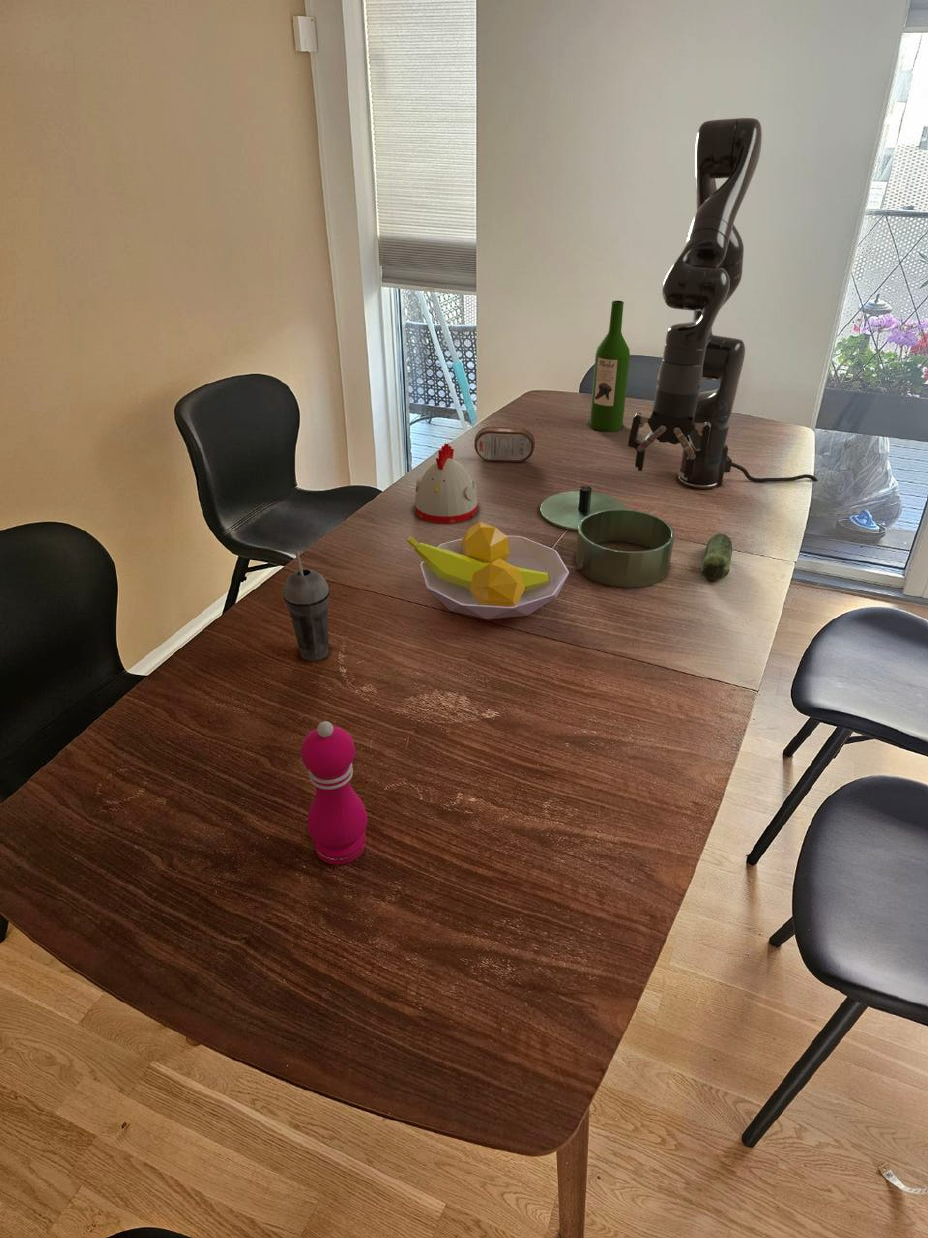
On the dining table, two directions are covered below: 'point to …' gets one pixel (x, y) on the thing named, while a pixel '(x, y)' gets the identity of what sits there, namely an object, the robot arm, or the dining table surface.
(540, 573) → the fruit bowl
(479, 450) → the tin
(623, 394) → the wine bottle
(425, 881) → the dining table surface
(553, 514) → the lid
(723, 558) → the vegetable
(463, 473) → the kitchen timer
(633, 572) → the green open cylinder
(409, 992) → the dining table surface
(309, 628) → the beverage cup
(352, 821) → the pepper mill
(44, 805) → the dining table surface
